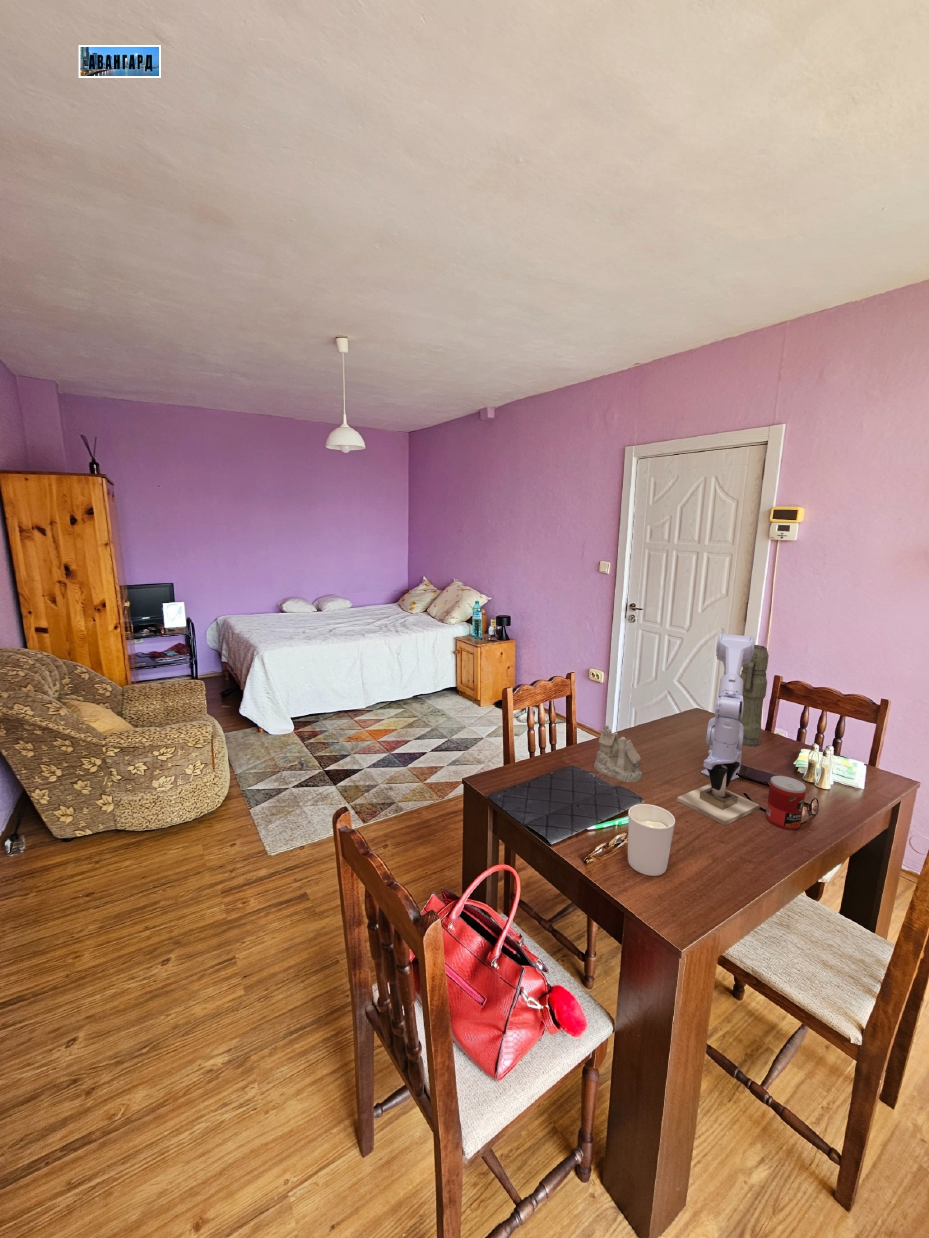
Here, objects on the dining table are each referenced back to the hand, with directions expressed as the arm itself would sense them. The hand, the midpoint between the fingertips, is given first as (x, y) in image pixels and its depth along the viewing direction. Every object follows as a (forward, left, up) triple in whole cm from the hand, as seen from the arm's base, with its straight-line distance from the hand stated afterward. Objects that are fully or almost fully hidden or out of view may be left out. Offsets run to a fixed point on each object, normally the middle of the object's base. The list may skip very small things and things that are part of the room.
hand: (719, 786), depth 141 cm
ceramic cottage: (+6, -29, -6) cm, 30 cm away
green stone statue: (-50, -21, -6) cm, 55 cm away
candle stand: (0, 0, -5) cm, 5 cm away
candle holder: (+38, +7, -6) cm, 39 cm away
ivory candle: (0, 0, -2) cm, 2 cm away
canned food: (-7, +14, -6) cm, 16 cm away
